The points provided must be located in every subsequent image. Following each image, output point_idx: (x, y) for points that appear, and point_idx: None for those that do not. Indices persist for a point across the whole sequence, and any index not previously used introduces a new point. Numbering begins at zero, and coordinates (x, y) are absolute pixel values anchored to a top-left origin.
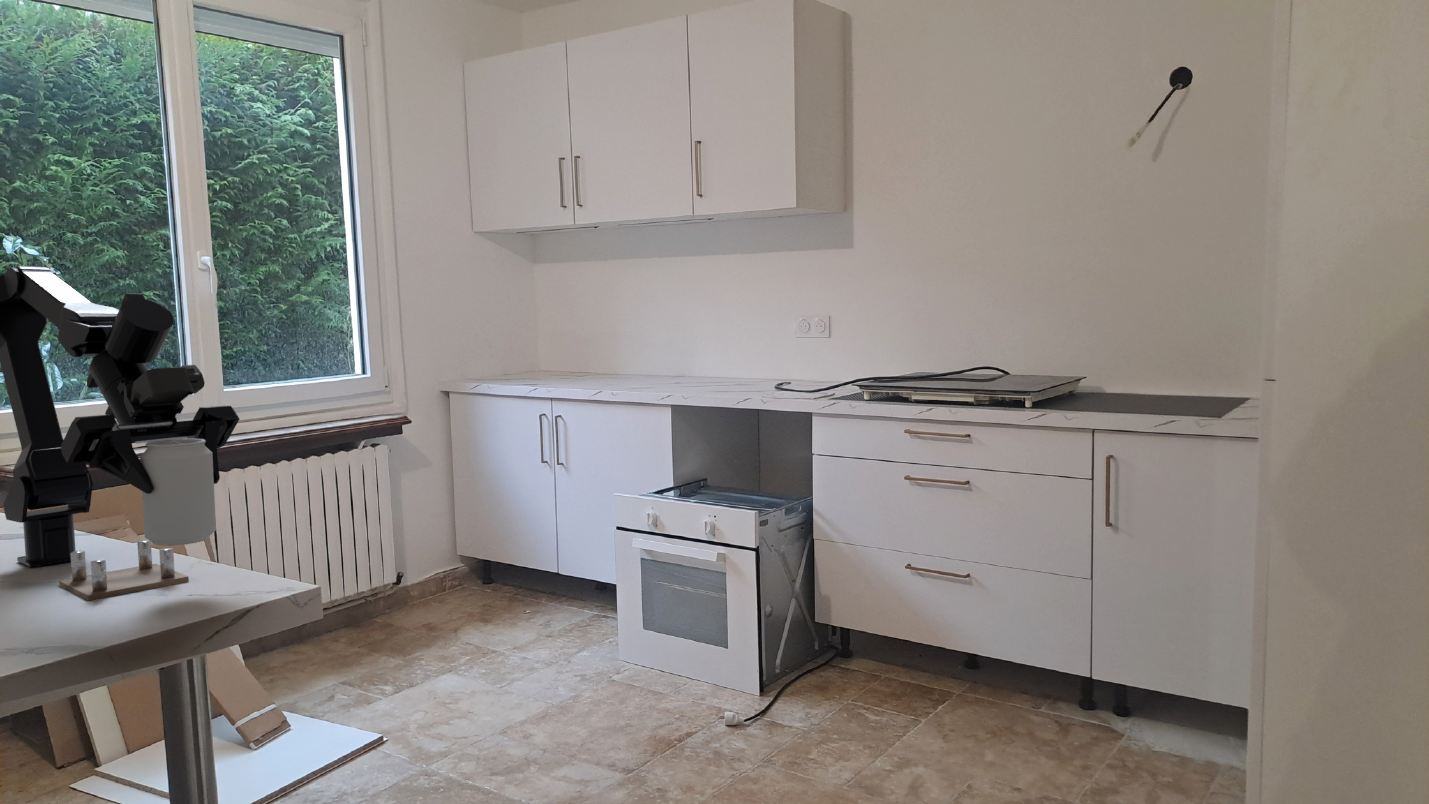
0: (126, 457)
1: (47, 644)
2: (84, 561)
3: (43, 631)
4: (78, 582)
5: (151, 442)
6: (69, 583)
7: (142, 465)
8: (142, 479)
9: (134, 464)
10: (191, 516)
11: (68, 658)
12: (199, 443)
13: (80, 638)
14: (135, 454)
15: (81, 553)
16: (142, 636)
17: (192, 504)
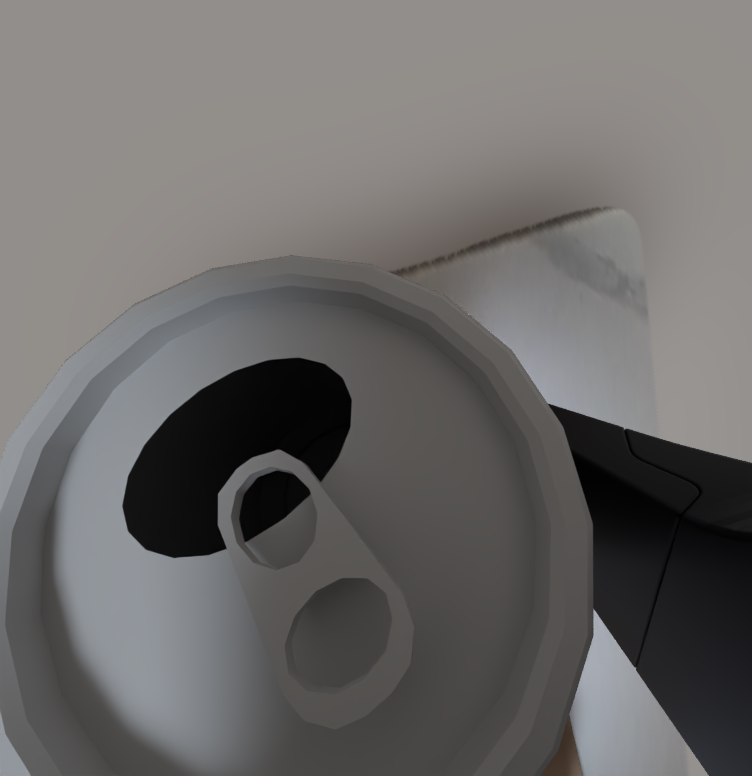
0: (701, 451)
1: (601, 302)
2: None
3: (609, 386)
4: (552, 765)
5: (519, 730)
6: (572, 772)
7: None
8: None
9: (609, 429)
10: (342, 387)
11: (574, 215)
12: (135, 310)
13: (557, 302)
14: (642, 488)
15: None
16: (478, 251)
17: (331, 375)
